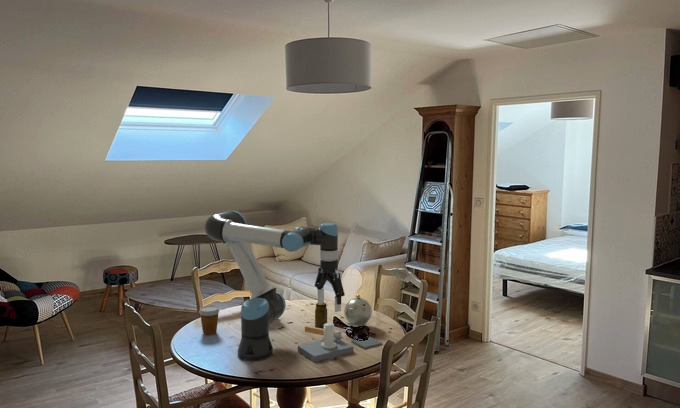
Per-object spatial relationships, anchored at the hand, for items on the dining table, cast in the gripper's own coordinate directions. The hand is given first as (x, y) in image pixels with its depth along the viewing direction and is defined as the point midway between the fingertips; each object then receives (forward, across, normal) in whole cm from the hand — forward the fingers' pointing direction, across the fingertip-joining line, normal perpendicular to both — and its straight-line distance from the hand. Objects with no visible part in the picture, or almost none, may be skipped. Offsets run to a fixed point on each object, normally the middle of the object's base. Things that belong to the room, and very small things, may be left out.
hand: (329, 307), depth 240 cm
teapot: (+20, +21, -30) cm, 42 cm away
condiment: (+20, +28, -14) cm, 37 cm away
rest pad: (+20, -1, -20) cm, 28 cm away
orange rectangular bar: (+16, +10, -3) cm, 19 cm away
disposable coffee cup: (+20, +51, +35) cm, 65 cm away
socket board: (+20, +1, +1) cm, 20 cm away
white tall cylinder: (+20, 0, 0) cm, 20 cm away
